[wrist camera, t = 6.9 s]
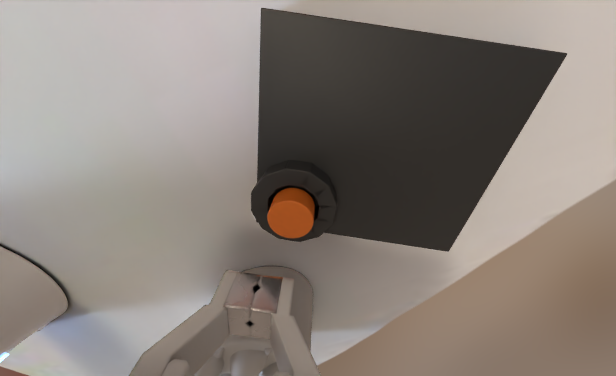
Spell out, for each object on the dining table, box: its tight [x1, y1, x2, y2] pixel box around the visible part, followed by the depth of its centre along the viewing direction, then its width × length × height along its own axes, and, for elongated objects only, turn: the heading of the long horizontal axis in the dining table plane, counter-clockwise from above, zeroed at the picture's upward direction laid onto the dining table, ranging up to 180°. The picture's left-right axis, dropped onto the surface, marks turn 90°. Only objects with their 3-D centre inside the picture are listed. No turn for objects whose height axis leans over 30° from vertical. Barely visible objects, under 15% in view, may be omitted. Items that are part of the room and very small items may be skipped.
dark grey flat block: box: [251, 8, 567, 251], centre depth 15 cm, size 16×14×4 cm
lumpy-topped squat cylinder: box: [194, 266, 313, 376], centre depth 22 cm, size 10×13×9 cm
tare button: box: [267, 188, 315, 238], centre depth 15 cm, size 3×3×2 cm
